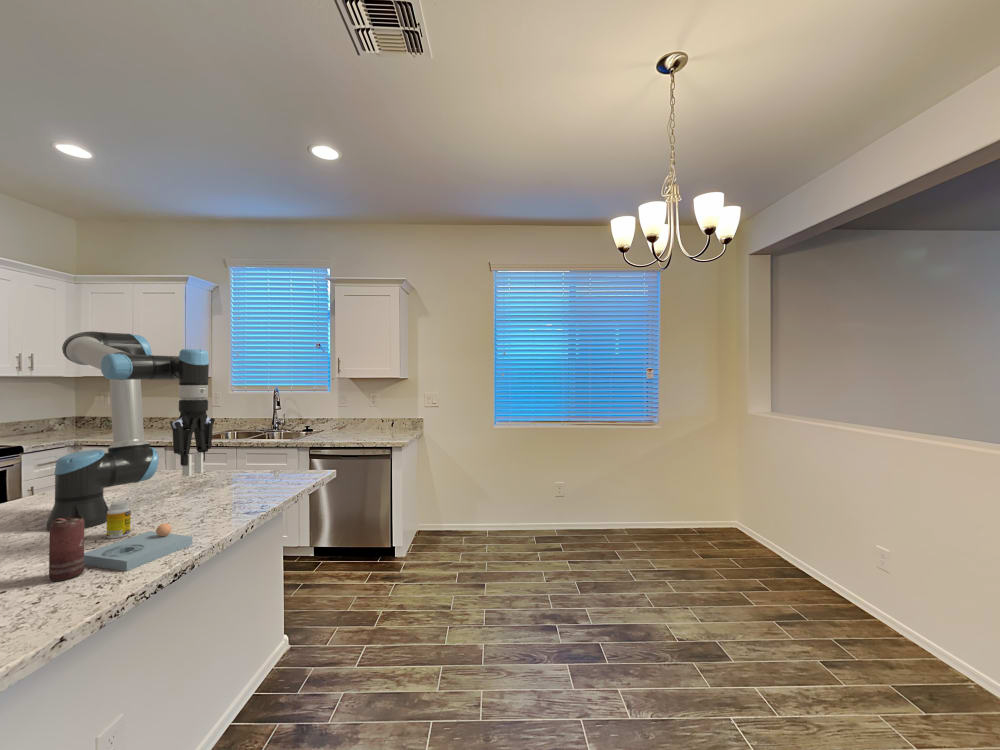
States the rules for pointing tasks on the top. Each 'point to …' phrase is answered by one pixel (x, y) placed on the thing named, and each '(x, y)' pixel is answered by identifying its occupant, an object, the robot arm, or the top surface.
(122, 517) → the supplement bottle
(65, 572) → the can
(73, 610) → the top surface
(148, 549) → the board
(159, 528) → the ball
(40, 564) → the top surface
